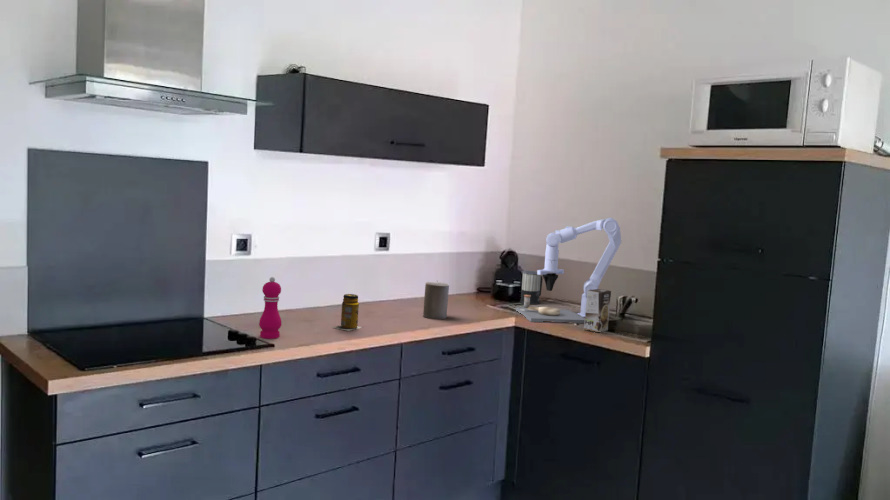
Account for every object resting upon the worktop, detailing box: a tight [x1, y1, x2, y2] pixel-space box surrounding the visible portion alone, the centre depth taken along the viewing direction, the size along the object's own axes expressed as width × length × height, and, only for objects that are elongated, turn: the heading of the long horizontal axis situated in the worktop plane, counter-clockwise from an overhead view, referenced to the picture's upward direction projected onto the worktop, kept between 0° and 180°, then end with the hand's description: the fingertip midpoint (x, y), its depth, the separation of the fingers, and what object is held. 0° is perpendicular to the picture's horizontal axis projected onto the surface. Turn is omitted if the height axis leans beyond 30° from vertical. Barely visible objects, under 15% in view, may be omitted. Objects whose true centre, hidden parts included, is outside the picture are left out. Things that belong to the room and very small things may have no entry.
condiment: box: [332, 293, 363, 332], centre depth 262 cm, size 7×8×12 cm
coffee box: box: [583, 288, 612, 333], centre depth 287 cm, size 9×6×16 cm
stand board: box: [515, 307, 585, 324], centre depth 310 cm, size 24×24×2 cm
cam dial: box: [523, 295, 561, 315], centre depth 310 cm, size 16×9×7 cm, turn 68°
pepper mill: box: [258, 276, 282, 340], centre depth 239 cm, size 7×7×20 cm
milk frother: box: [519, 270, 544, 305], centre depth 347 cm, size 14×16×15 cm
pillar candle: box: [422, 280, 450, 320], centre depth 293 cm, size 10×10×15 cm
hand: (549, 290), depth 320 cm, fingers closed
